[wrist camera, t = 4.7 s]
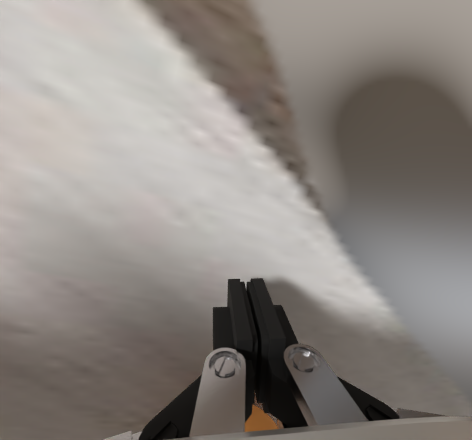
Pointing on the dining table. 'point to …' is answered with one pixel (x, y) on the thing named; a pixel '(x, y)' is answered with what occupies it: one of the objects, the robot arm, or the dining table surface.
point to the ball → (259, 421)
